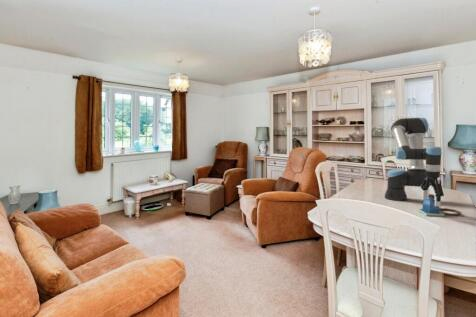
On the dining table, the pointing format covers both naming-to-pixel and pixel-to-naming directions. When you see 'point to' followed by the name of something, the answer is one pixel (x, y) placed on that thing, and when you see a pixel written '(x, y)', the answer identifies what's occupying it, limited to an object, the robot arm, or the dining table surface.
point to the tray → (430, 214)
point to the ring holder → (450, 213)
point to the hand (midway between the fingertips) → (430, 203)
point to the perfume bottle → (430, 205)
